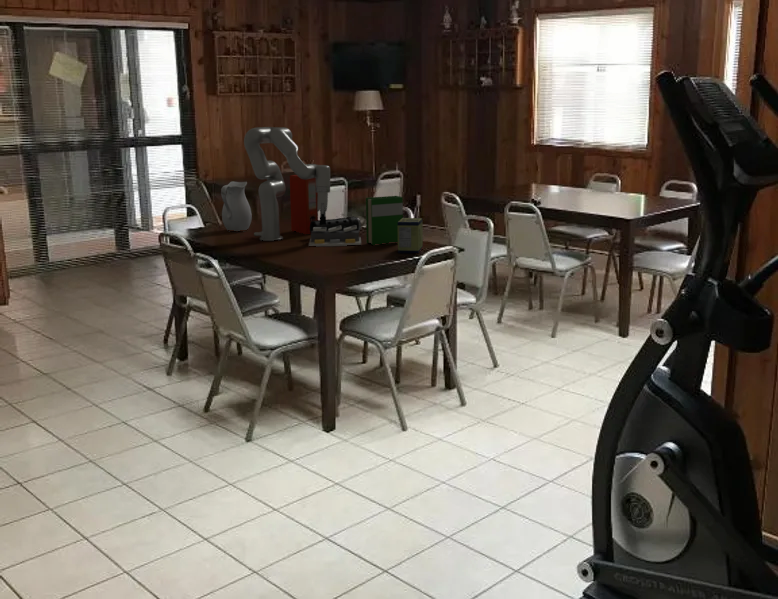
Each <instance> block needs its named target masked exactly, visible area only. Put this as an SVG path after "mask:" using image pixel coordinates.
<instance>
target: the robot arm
mask: <svg viewBox="0 0 778 599" xmlns="http://www.w3.org/2000/svg"><path fill="white" fill-rule="evenodd" d="M260 144H273V145H274V146H275V147H276V148H277V150H279V152H281V154H283V156H284V157H285V158H286V161H287V162H286V163H287V164H288V167H289V168H290V169H291V171H292V172H294V175H297V176H298V177H299V178H301V179H304V180H306V179H312V178H316V192H317V193H318V197H317V211H318V213H319V212H320V213H319V215H320V216H319V220H320V224H326V220H327V216H326V213H327V212H328V203H329V200H328V198H329V197H328V196H329V193H331V167H330V166H329V165H326V164H315V163H308V164H305V163H304V162H303V161H302V160H301V158H300V157H299V155H298V152H299V145H298V144H296V143H295V141H294V140H293V133H292V131H291V130H290V129H289V128H288V127H285V126H284V127H283V126H282V127H280V126H279V127H278V126H277V127H276V126H275V127H274V126H264V127H263V126H262V127H254V128H253V127H252V128H251V129H249V130H248V131H247V132H245V134H244V139H243V145H244V148H245V151H246V153H247V155H248V158H249V161H250V164H251V166H252V170H253V173H254V175H255V177H256V179H259V180H265V181H264V182H261V183H260V185H259V187H258V196H259V197H258V198H259V202H260V213H261V214H260V216H261V231H259V232H257V231H256V232H253V236H254V237H259V241H262V240H263V241H264V242H275V241H274V240H278V241H281V239H282V240H283V239H284V236H282V235H281V232H280V231H281V230H280V229H281V227H280V226H281V225H280V208H279V207H280V205H279V202H278V199H277V198H280V197H282V196H284V195H285V194H286V188H287V187H286V183H285V181H284V180H285V179H284V177H283V175H282V171H281V168H280V166H279V165H278V164H277V163H276V162H275V161H273V160H268V159H267V157H266V154H265V151H264V149H263V148H262V147H261V145H260ZM263 241H262V242H263Z"/></svg>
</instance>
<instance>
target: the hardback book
mask: <svg viewBox="0 0 778 599" xmlns="http://www.w3.org/2000/svg"><path fill="white" fill-rule="evenodd" d="M403 198H404V197H403V196H400V195H399V196H398V195H391V196H390V195H387V196H375V197H374V196H372V197H365V221H366V222H365V223H366V224H365V226H366V227H365V228H366V230H365V232H366V234H365V235H366V244H367V243H371V244H370V245H371V246H372V245H375V244H382V243H389V242H398V221H400V220H401V219H402V218H404V213H403V212H404V209H403V208H404V203H403V200H404V199H403Z"/></svg>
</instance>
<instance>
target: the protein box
mask: <svg viewBox="0 0 778 599" xmlns="http://www.w3.org/2000/svg"><path fill="white" fill-rule="evenodd" d="M423 231H424V230H423V218H422V217H403V218H402V219H401V220H400V221H398V243H397V254H412V253H418V254H419V253H420V252H421V251H422V250H421V248H422V247H423V242H424V241H423V239H424V238H423V234H424V233H423ZM423 248H424V247H423ZM420 250H421V251H420ZM419 251H420V252H419Z"/></svg>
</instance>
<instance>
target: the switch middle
mask: <svg viewBox="0 0 778 599" xmlns="http://www.w3.org/2000/svg"><path fill="white" fill-rule="evenodd" d="M340 229H342V227H341V225H340V226H336V227H333V228H329V229H328V231H329V232H333V231H336V230H340Z"/></svg>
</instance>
